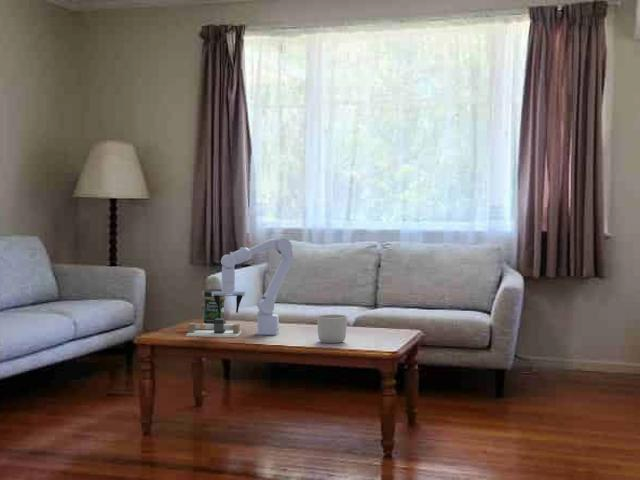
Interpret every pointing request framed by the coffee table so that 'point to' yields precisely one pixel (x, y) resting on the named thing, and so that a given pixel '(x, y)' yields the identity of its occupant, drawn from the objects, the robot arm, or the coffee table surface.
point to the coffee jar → (212, 306)
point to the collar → (219, 325)
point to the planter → (332, 328)
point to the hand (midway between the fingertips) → (228, 312)
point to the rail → (211, 333)
